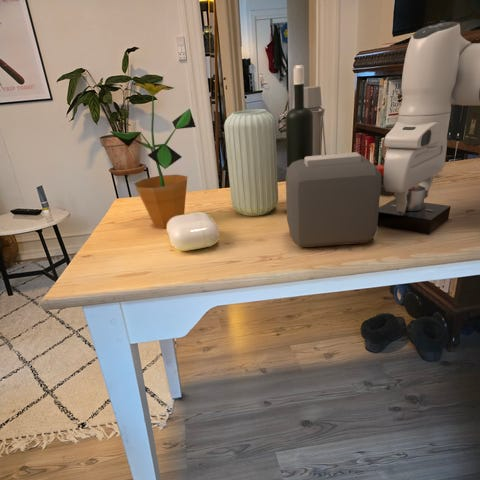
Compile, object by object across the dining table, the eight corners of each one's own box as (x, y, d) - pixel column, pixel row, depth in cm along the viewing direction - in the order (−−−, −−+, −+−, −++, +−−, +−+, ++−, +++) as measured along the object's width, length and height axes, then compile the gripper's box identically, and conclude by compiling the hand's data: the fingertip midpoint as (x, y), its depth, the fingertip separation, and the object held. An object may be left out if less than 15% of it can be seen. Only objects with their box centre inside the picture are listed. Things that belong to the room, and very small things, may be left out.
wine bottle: (316, 212, 97) (317, 63, 81) (293, 216, 95) (290, 65, 80) (306, 206, 101) (305, 64, 86) (284, 210, 100) (280, 66, 85)
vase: (285, 205, 104) (282, 107, 92) (268, 219, 95) (263, 113, 83) (244, 203, 108) (236, 109, 97) (224, 217, 100) (213, 116, 88)
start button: (389, 174, 107) (390, 165, 106) (382, 177, 105) (383, 169, 103) (375, 172, 109) (376, 164, 108) (368, 176, 107) (368, 167, 106)
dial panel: (448, 220, 85) (451, 204, 83) (428, 235, 79) (431, 218, 77) (393, 211, 92) (394, 197, 90) (371, 225, 86) (372, 210, 84)
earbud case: (173, 258, 80) (169, 232, 77) (167, 237, 91) (162, 213, 88) (224, 249, 82) (221, 223, 79) (211, 229, 93) (208, 206, 90)
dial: (404, 203, 86) (407, 183, 84) (426, 206, 84) (429, 185, 82) (396, 209, 84) (398, 188, 81) (418, 212, 81) (421, 190, 79)
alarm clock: (365, 226, 86) (371, 147, 77) (379, 246, 76) (388, 158, 68) (287, 232, 87) (285, 154, 79) (291, 253, 77) (289, 166, 69)
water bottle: (288, 192, 114) (286, 89, 101) (301, 185, 119) (300, 87, 106) (319, 194, 109) (321, 87, 96) (331, 187, 114) (334, 84, 101)
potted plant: (213, 228, 93) (194, 75, 78) (130, 241, 91) (93, 86, 75) (202, 207, 108) (184, 76, 93) (131, 218, 106) (100, 85, 90)
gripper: (427, 122, 84) (418, 190, 91) (380, 138, 72) (373, 215, 79) (460, 122, 80) (447, 193, 87) (415, 140, 68) (405, 220, 75)
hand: (412, 204), depth 83 cm, fingers open, 8 cm apart
